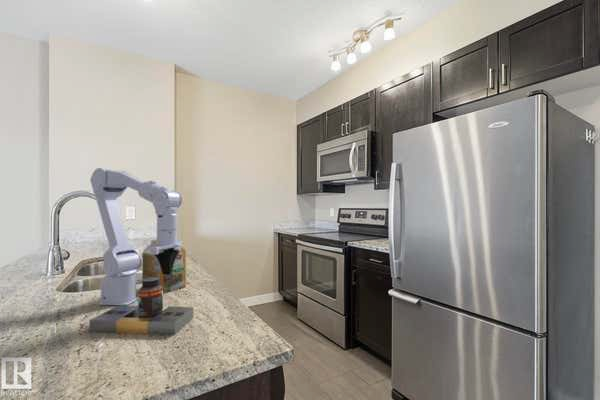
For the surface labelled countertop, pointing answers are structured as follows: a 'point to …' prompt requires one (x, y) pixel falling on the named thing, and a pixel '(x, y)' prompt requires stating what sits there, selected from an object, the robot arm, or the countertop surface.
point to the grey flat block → (141, 321)
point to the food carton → (154, 270)
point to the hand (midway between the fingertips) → (167, 274)
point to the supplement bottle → (150, 298)
